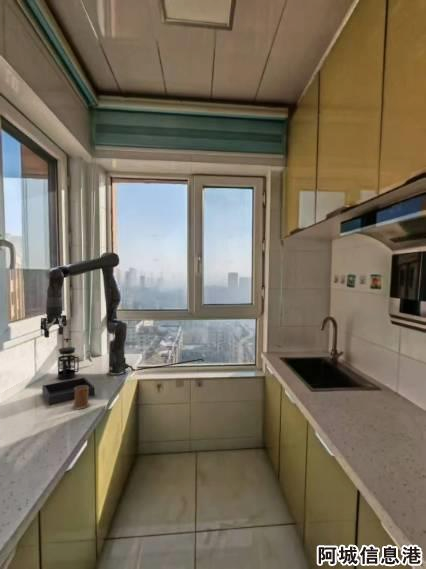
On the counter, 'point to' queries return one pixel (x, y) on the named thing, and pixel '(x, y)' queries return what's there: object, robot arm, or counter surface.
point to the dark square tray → (64, 390)
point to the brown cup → (81, 396)
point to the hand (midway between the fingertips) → (53, 335)
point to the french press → (67, 363)
